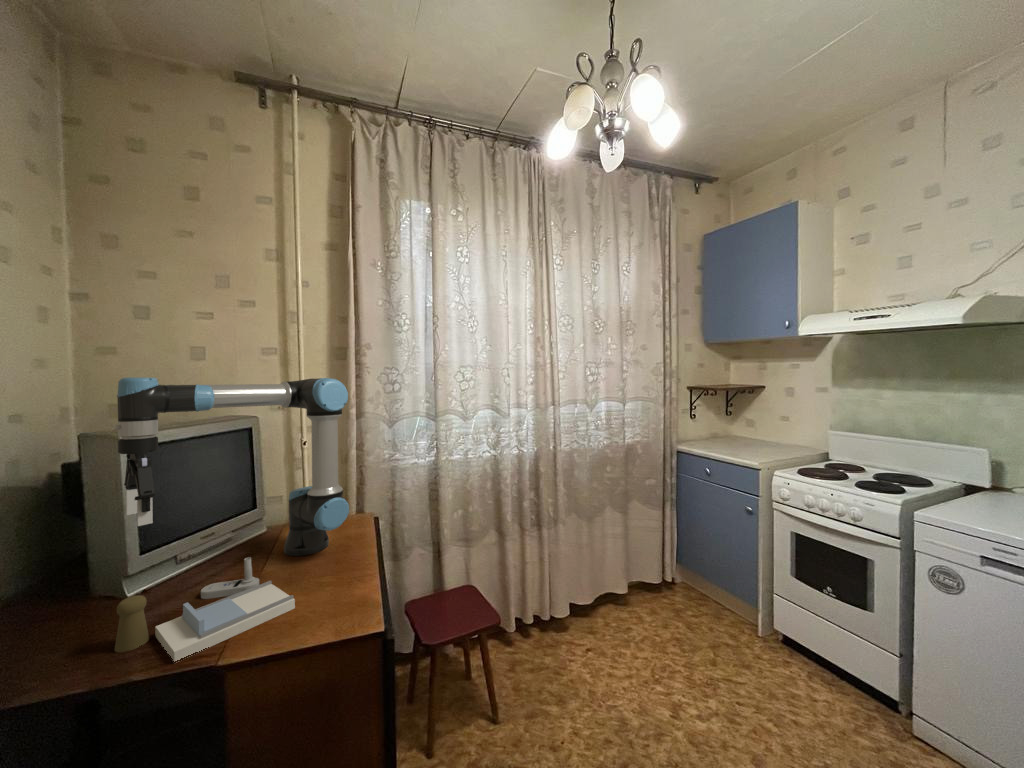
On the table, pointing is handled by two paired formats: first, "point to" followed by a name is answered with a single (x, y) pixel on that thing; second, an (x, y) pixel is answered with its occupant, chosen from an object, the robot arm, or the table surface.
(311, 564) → the table surface
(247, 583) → the electronic device
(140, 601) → the cork
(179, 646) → the socket plate
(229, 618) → the panel
